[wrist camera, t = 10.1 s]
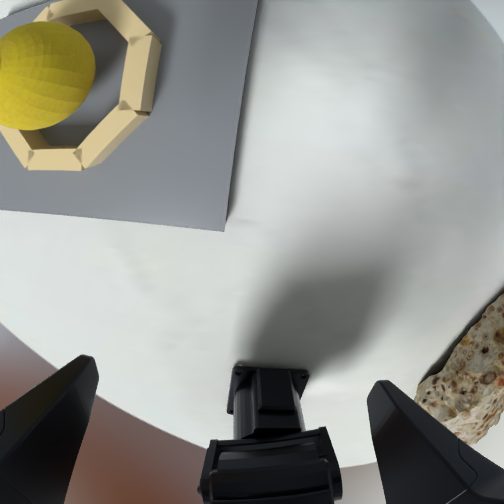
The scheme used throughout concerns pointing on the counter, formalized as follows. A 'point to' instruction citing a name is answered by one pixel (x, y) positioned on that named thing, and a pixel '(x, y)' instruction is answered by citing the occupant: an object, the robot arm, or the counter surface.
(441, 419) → the rock
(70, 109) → the lemon
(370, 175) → the counter surface
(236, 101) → the plate
